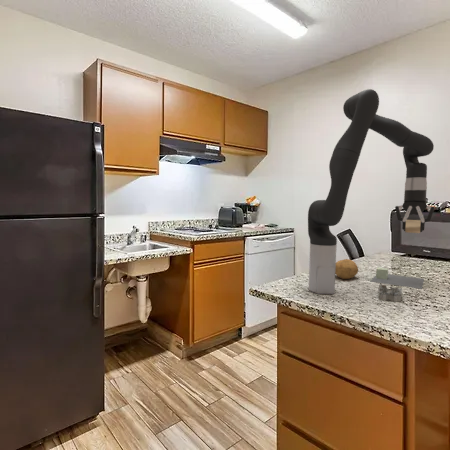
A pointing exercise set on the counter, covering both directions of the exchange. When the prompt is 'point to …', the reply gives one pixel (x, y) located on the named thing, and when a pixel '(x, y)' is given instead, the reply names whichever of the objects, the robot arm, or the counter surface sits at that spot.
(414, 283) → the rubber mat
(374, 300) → the counter surface
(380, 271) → the sage block
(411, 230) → the maple block
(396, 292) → the miniature stone castle
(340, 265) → the potato
